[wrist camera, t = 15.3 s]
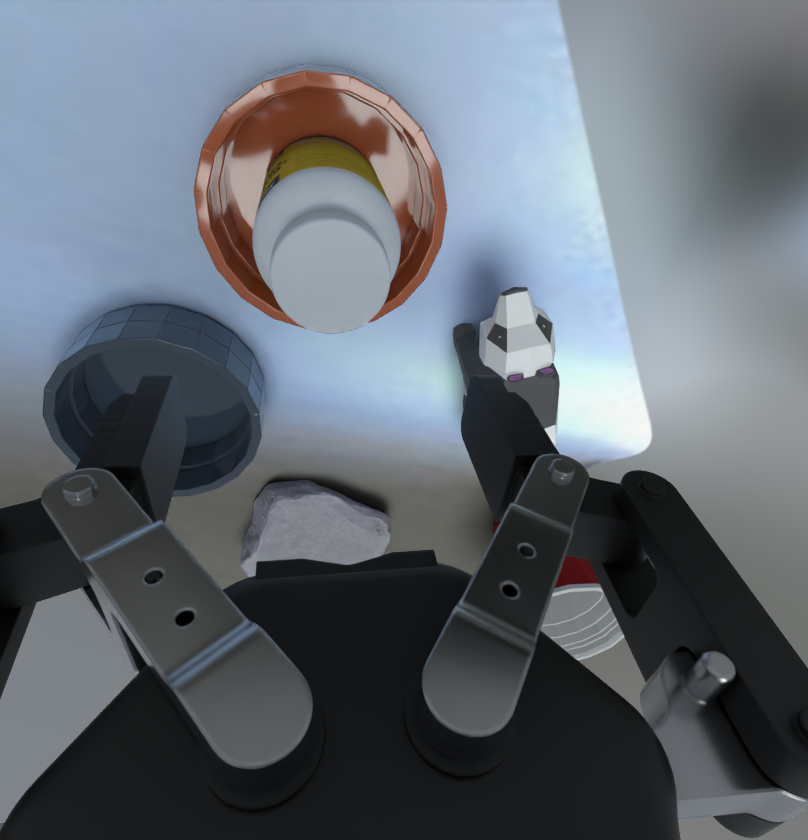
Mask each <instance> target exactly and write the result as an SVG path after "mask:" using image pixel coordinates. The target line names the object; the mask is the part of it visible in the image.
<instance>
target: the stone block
mask: <svg viewBox="0 0 808 840" xmlns="http://www.w3.org/2000/svg"><path fill="white" fill-rule="evenodd" d="M390 519H391V518H390V516H388V515H387V514H385V513H382V512H380V511H379V510H375V509H373V508H370V507H368V506H366V505H364V504H362V503H359V502H356V501H353V500H351V499H349V498H348V497H346V496H344V495H343V494H341V493H338V492H336V491H334V490H331V489H329V488H326V487H322V486H319V485H317V484H316V483H314V482H311V481H309V480H297V481H284V482H276V483H271V484H268V485H266V486H265V488H264V489H263V491H262V492H261V493H260V495H259V496H258V497H257V498H256V499H255V500H254V508H253V513H252V521H251V523H250V525H249V528H248V531H247V533H246V536H245V539H244V542H243V548H242V552H241V559H240V565H241V567H242V569H243V570H244V571H245V573H246V575H247V576H248V577H252V576H255V575H256V562H257V561H272V560H287V559H309V560H316V561H323V562H330V563H336V564H343V565H351V564H355V563H359V562H362V561H365V560H369V559H372V558H375V557H379V556H382V555H383V553H384V551H385V549H386V547H387V545H388V543H389V540H390V536H391V525H390Z"/></svg>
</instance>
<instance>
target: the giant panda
mask: <svg viewBox="0 0 808 840" xmlns="http://www.w3.org/2000/svg"><path fill="white" fill-rule="evenodd" d="M453 338H454V346H455V349H456V351H457V354H458V357H459V361H460V365H461V369H462V374H463V378H464V386H465V393H466V395H467V391H468V386H469V382H470V379H471V377H472V376H474V375H497V376H499V377H500V378H501V380H502V382H503V384H504V385H505V387H506V389H507V391H508V392H516V393H517V394H518V395H520V396H521V397H522V398H523V399H525V400H526V401H527V402H528V403H529V405H530V406H531V408H532V409H533V411H534V413H535V416H537V418H538V419H539V421H540V423H541V425H542V426H543V428H544V429H545V431H546V433H547V434H548V436H549V437H550V439H551V441H552V442H553V444H554V446H555V447H556V437H557V416H558V397H559V384H560V383H559V375H558V373H557V371H556V368H555V366H554V364H553V361H554V355H555V341H554V332H553V324H552V322H551V321H550V319H549V318H548V316H547V315H546V313H545V312H544V311H543V309H542V308H536V307H535V305H534V303H533V300H532V298H531V296H530V293H529V291H528V289H527V287H513V288H511V289H509V290H507V291H505V292H502V293H501V294H499V297H498V300H497V304H496V307H495V310H494V313H493V317H491V318H489V319H486V320H484V321H482V322H480V342H479V343H478V342H477V338H476V334H475V331H474V329H473V326H472V324H461V325H459V326H457V327H455V328H454V332H453ZM466 395H464V398H463V410H464V405H465V400H466Z"/></svg>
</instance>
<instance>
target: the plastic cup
mask: <svg viewBox="0 0 808 840" xmlns="http://www.w3.org/2000/svg"><path fill="white" fill-rule="evenodd" d="M500 522H501V521H495V520H494V524H493V525H494V529H493V532H494V534H495V532H496V530H497V528H498V526H499V524H500ZM541 631H542V632H544V633H545V634H546V635H547V636H548V637H550V638H551V639H552V640H553V641H555V642H556V643H557V644H558V645H559V646H561V647H562V648H563V649H564V650H565V651H567V652H568V653H569V654H570V655H572V656H573V657H574V658H575V659H576V660H581V659H585V658H589V657H591V656H594V655H596V654H598V653H600V652H602V651H604V650H606V649H609V648H610V647H613V646H614V645H615V644H616V643H617V642H618V641H620V640H621V639H622V638H624V635H623V633H622V631H621V628H620V626H619V624H618V622H617V620H616V618H615V616H614V613H613V611H612V609H611V607H610V605H609V603H608V601H607V599H606V596H605V594H604V592H603V590H602V588H601V586H600V584H599V582H598V579H597V577H596V575H595V573H594V571H593V569H592V567H591V565H590V562H589V560H585V559H580V558H575V557H571V556H565V559H564V562H563V565H562V568H561V571H560V574H559V577H558V580H557V583H556V585H555V588H554V591H553V594H552V597H551V600H550V603H549V606H548V609H547V612H546V615H545V618H544V621H543V624H542V627H541Z"/></svg>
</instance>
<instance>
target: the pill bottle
mask: <svg viewBox="0 0 808 840" xmlns="http://www.w3.org/2000/svg"><path fill="white" fill-rule="evenodd" d="M252 243H253V252H254V257H255V261H256V264H257V267H258V270H259V272H260V274H261V276H262V278H263V280H264V281H265V283H266V284H267V285H268V287H269V288H270V289H271V290H272V292H273V294H274V297H275V299H276V301H277V303H278V304H279V306H280V307H281V309H282V310H283V311H284V312H285V314H286V315H287V316H288V317H290V318H291V319H292V320H293V321H295V322H296V323H297V324H299V325H301V326H303V327H304V328H307V329H309V330H312V331H315V332H320V333H328V334H336V333H344V332H348V331H352V330H354V329H357V328H359V327H361V326H363V325H364V324H366V323H367V322H369V321H370V320H371V319H372V318H373V317H374V316H375V315H376V314H377V313H378V312H379V311H380V309H381V308H382V306H383V304H384V303H385V301H386V298H387V296H388V292H389V289H390V283H391V281H392V279H393V277H394V275H395V272H396V270H397V267H398V263H399V259H400V251H401V239H400V231H399V227H398V223H397V220H396V217H395V214H394V212H393V209H392V207H391V205H390V202H389V200H388V198H387V196H386V193H385V191H384V189H383V187H382V185H381V183H380V181H379V179H378V176H377V174H376V172H375V170H374V168H373V167H372V165H371V164H370V162H369V161H368V159H367V158H366V157H365V156H364V155H363V154H362V153H361V152H360V151H359V150H358V149H357V148H355V147H354V146H352V145H351V144H349V143H347V142H346V141H344V140H341V139H339V138H336V137H332V136H326V135H312V136H307V137H303V138H300V139H297V140H295V141H293V142H291V143H290V144H288V145H287V146H286V147H284V148H283V149H282V150H281V151H280V152H279V153H278V154H277V155H276V157H275V158H274V159H273V161H272V163H271V164H270V166H269V168H268V170H267V173H266V176H265V180H264V184H263V189H262V193H261V197H260V202H259V206H258V209H257V213H256V217H255V221H254V227H253V236H252Z"/></svg>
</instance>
